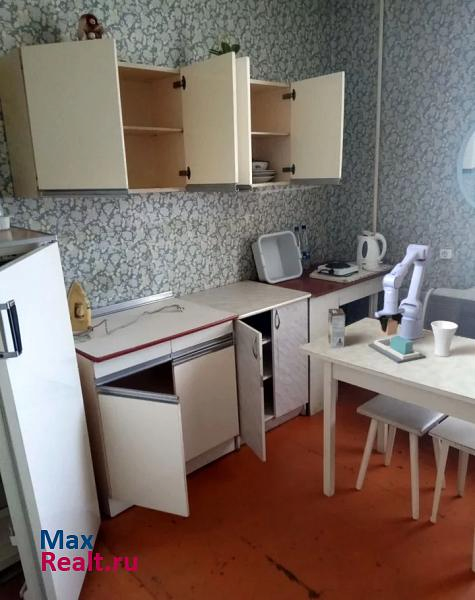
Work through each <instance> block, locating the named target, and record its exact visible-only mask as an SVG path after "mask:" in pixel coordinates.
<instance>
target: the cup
mask: <svg viewBox="0 0 475 600" xmlns="http://www.w3.org/2000/svg"><path fill="white" fill-rule="evenodd" d="M430 326H431V329H432V334H433V338H434V349H433V354H434V355H435V356H437V357H442V358H447V357H449V356H450V355H451V347H452V346H451V344H452V341H453V338H454V336H455V333H456V331H457V330H458V327H459V325H458V324H457V323H455V322H452V321H446V320H436V321H435V320H434V321H432V322H431V323H430Z"/></svg>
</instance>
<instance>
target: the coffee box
mask: <svg viewBox="0 0 475 600" xmlns="http://www.w3.org/2000/svg"><path fill="white" fill-rule="evenodd" d="M327 321H328V325H327V326H328V327H327V333H328V334H327V341H328V343H329V346H330V348H344V347H345V331H346V327H345V326H346V313H345V312H344V310H343V308H328V320H327Z"/></svg>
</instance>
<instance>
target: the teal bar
mask: <svg viewBox="0 0 475 600" xmlns="http://www.w3.org/2000/svg"><path fill="white" fill-rule="evenodd" d="M390 338H391V347H390V348H392V349H393V350H395V351H397V352H399V353H401V354H402V355H407V354H412V349H414V347H413V346H414V345H413V344H414V341H413V340H412V339H411V340H408V339H405V338H402V337H400V336H398V335H396V336H394V337H393V336H392V337H390Z"/></svg>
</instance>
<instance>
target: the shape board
mask: <svg viewBox="0 0 475 600" xmlns="http://www.w3.org/2000/svg"><path fill="white" fill-rule="evenodd" d="M391 338H392V337H387V338H381V339H375V340H373V343H368V347H369V348H371V349H372V350H375V351H376V352H378V353H379V354H382V355H383V356H384V357H387V358H388V359H390V360H392V361H393V362H395V363H397V364H403V363H408V362H411V361H417V360H421V359H422V360H423V359H426V358H427V357H426V355H425V354H423V353H421V352H419V351H417V350H415V349H414V348H413V349H412V354H407V355H402V354H401V353H399V352H397V351H395V350H393V349H392V348H390V347H391Z"/></svg>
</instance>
